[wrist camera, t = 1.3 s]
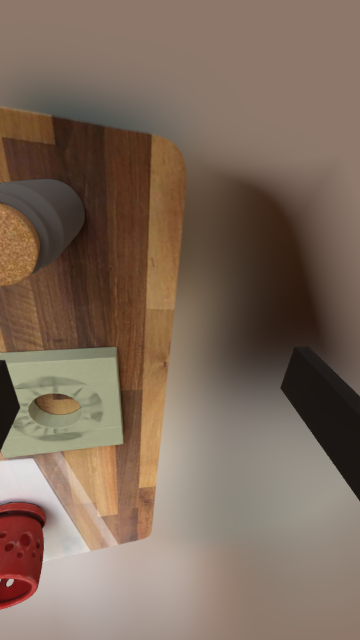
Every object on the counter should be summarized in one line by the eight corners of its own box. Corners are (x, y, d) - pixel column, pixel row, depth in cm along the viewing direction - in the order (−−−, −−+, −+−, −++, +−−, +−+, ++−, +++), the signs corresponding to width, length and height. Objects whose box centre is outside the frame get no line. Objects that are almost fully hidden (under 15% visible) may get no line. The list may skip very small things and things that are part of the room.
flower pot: (29, 535, 56) (7, 616, 46) (-34, 521, 50) (-76, 611, 40) (67, 506, 53) (53, 585, 43) (5, 487, 47) (-29, 575, 37)
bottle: (91, 236, 29) (61, 288, 16) (36, 242, 28) (-42, 301, 15) (77, 176, 26) (25, 180, 13) (15, 181, 25) (-104, 190, 12)
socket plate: (-28, 354, 33) (-38, 366, 31) (116, 346, 36) (116, 357, 34) (10, 443, 42) (3, 458, 40) (123, 431, 45) (123, 444, 43)
